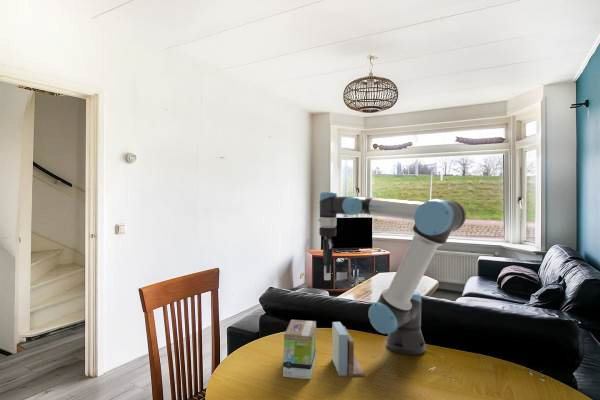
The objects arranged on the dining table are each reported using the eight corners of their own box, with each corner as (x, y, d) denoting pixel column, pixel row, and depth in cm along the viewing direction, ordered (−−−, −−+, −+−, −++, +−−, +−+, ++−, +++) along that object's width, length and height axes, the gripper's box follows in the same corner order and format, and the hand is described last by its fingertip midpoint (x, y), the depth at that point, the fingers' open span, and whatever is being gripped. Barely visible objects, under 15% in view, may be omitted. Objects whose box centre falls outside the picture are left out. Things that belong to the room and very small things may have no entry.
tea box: (311, 380, 114) (312, 336, 113) (282, 377, 115) (282, 334, 115) (316, 359, 128) (316, 319, 128) (289, 357, 130) (290, 318, 130)
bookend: (354, 356, 130) (354, 325, 130) (364, 375, 116) (365, 340, 116) (340, 357, 130) (340, 325, 130) (349, 376, 116) (349, 341, 116)
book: (339, 358, 129) (340, 321, 129) (347, 375, 117) (347, 334, 117) (331, 359, 129) (332, 322, 128) (338, 375, 117) (338, 334, 116)
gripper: (317, 225, 157) (316, 276, 157) (322, 228, 144) (321, 283, 144) (333, 225, 158) (332, 276, 158) (339, 228, 145) (338, 283, 145)
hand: (327, 279), depth 151 cm, fingers closed
